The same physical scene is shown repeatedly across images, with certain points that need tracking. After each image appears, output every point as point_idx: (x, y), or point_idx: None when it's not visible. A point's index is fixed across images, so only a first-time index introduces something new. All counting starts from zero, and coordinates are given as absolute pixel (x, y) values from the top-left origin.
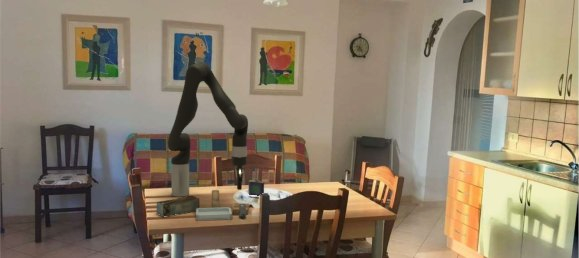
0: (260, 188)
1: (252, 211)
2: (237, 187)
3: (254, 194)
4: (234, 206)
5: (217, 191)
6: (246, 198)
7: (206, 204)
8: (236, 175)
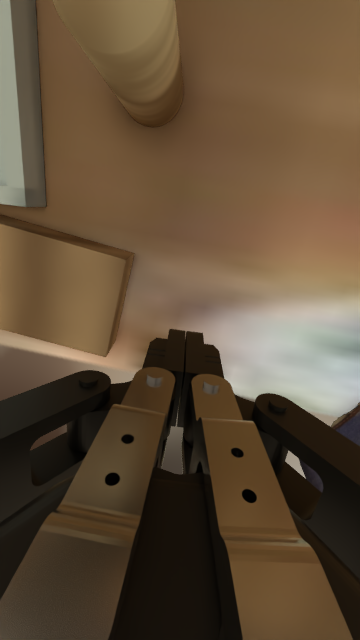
0: None
1: (56, 348)
2: (168, 339)
3: (352, 436)
4: (38, 241)
5: (59, 11)
6: (351, 375)
7: (310, 9)
8: (95, 444)
